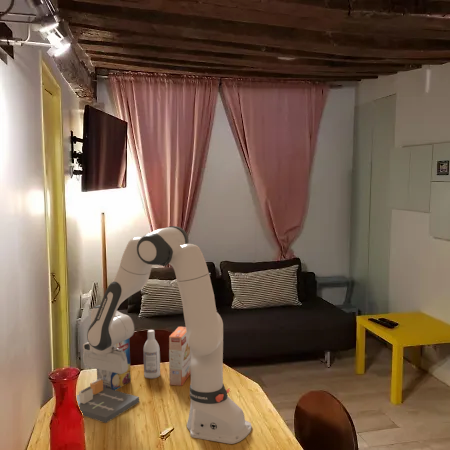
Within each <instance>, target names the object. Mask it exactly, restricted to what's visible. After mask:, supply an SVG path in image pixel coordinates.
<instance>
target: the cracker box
mask: <svg viewBox="0 0 450 450" xmlns="http://www.w3.org/2000/svg"><path fill="white" fill-rule="evenodd" d="M168 341H169V342H168V348H169V349H168V359H169V361H168V362H169V363H168V364H169V365H168V367H169V369H168V370H169V371H168V372H169V374H168V377H169V385H170V386H179V387H182V386H183V385H184V384H185V382H186V381H187V379H188V378H189V376H191V365H190V364H191V348H190V346H189V343H188V337H187V331H186V326H177V328H176V329H175V330H174V331H172V333H171V334H170V335H169V337H168Z"/></svg>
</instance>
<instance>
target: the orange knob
mask: <svg viewBox="0 0 450 450" xmlns="http://www.w3.org/2000/svg"><path fill="white" fill-rule="evenodd" d="M89 387H91V389H93V394H97V393H99V392H101V391H103V380H101V378H99V379H97V378H96V380H93V381H92V382H90V385H89Z"/></svg>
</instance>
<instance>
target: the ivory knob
mask: <svg viewBox="0 0 450 450" xmlns="http://www.w3.org/2000/svg"><path fill="white" fill-rule="evenodd" d="M78 395H79V401H80V403H83V404H85V403H87V402H88V401H90V400H92V399H93V389H91V387H90V386H88V387H86V388H83V389H81V390H80V391H78Z"/></svg>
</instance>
